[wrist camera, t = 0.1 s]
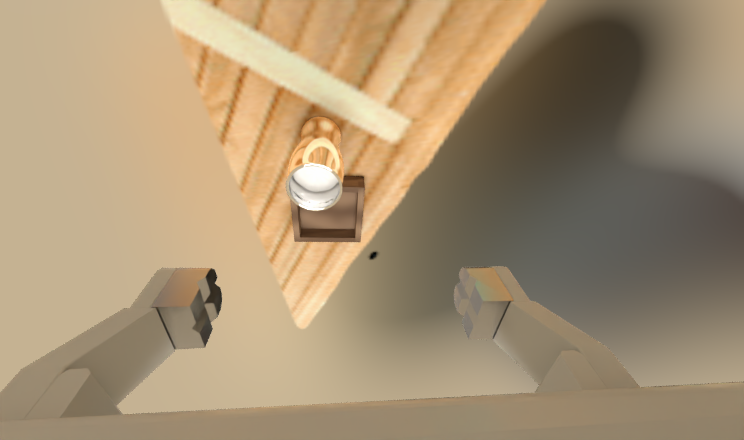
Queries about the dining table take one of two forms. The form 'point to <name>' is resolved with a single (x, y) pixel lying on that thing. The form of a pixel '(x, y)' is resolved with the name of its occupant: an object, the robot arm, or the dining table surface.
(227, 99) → the dining table surface
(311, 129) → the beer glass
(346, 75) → the dining table surface
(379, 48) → the dining table surface
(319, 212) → the walnut tray
